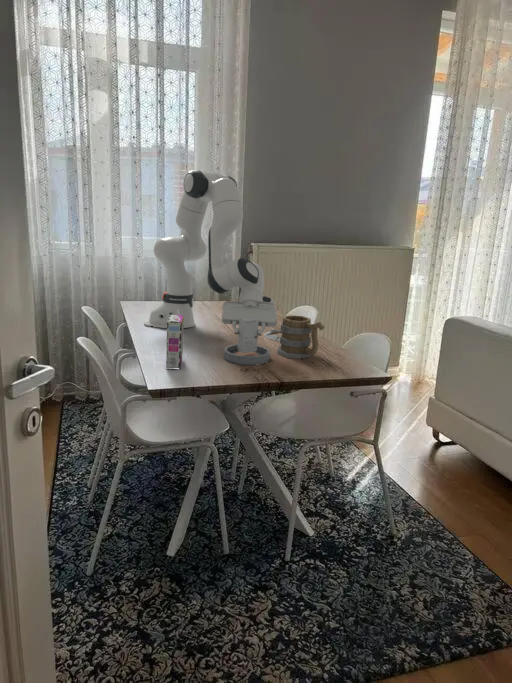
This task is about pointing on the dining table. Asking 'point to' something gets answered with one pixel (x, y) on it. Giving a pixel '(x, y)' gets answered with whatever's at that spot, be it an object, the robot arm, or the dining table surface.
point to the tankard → (298, 337)
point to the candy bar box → (174, 341)
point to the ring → (273, 337)
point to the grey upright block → (248, 334)
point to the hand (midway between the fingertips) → (248, 334)
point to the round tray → (246, 355)
